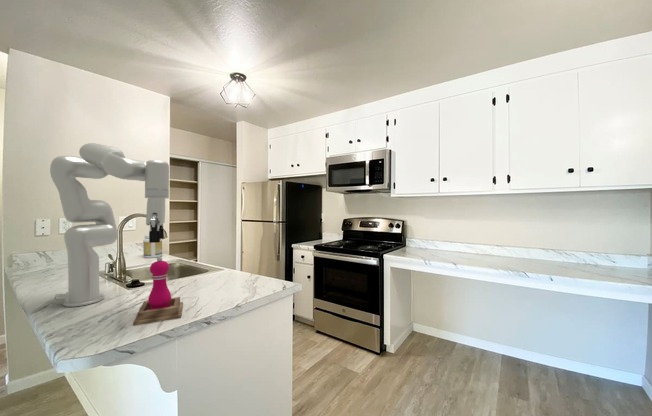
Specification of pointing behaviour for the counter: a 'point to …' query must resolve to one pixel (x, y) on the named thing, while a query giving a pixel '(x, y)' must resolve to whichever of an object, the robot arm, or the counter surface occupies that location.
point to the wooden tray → (159, 312)
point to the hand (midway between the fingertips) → (156, 240)
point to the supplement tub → (152, 248)
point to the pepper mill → (159, 285)
